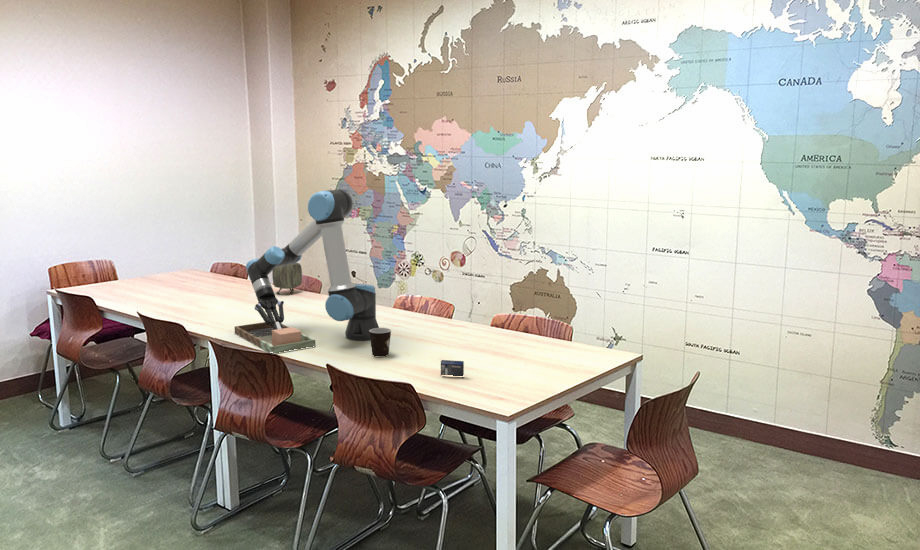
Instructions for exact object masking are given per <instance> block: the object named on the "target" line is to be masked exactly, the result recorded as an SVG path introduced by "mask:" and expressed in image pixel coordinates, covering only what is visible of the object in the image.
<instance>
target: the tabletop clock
mask: <svg viewBox="0 0 920 550" xmlns="http://www.w3.org/2000/svg"><path fill="white" fill-rule="evenodd" d="M302 268H303V267H302V265H301V263H299V261H298V262H296V263H294V264H288V265H284V266H280V267H276V268H274V269H273V270H272V271H271V272H272V275H271V276H272V284H273V286H274V288H279V290H278V291H276V295H277V296H279V295H280V291H282V290H283V289H285V290H289V295H293V293H294V291H295V289H294V288H298V287H299V286H301V285H302V283H303V271H302V270H303V269H302Z"/></svg>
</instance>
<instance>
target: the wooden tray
mask: <svg viewBox="0 0 920 550" xmlns="http://www.w3.org/2000/svg"><path fill="white" fill-rule="evenodd" d="M275 322H276V321H275ZM281 324H282V326H283V328H290V327H289V326H287V325H285V324H283V323H281ZM270 325H271V324H269V325H267V324H266V323H265V321H263V322H257V323H249V324H243V325H236V326H234V333H235V335H237V336H239V337H241V338H242V339H244V340H246V341H247V342H250V343H251V344H253V345H255V346H257V347H259V348H260V349H262V350H263V351H266V352H267V351H268V352H267V353H269V352H273V353H277V354H280V353H279V352H283V353H285V352H284V351H289V350H294V349H301V348H306V347H312V348H314V347H313V346H316V339H315V338H312V337H310V336H308V335H306V334H304V333H302V332H301V342H296V343H290V344H284V345H277V346H272V344H270V343H269V342H266V341H264V339H261V338H260V337H259V336H261V337H267V335H268V336H272V330H273V328H272V326H270ZM267 331H268V332H267ZM260 332H262V333H260ZM254 333H255V334H254ZM301 350H302V349H301ZM289 352H290V351H289Z"/></svg>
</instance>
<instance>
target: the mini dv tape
mask: <svg viewBox="0 0 920 550" xmlns="http://www.w3.org/2000/svg"><path fill="white" fill-rule="evenodd" d="M464 365H465V362H464V361H463V360H452V359H451V360H446V359H442V360H441V359H440V376H441V375H453V376H463V375H465V368H464Z"/></svg>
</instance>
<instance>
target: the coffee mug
mask: <svg viewBox="0 0 920 550" xmlns="http://www.w3.org/2000/svg"><path fill="white" fill-rule="evenodd" d="M369 332H370V340H369V341H370V346H371V354H372V356H373V355H374V356H373V357H375V356H385V357H387V356H386V355H388V354H389V353H390V344H391V335H392V330H391V329H390V328H387V327H379V328H374V329H371V330H369ZM388 356H389V355H388Z"/></svg>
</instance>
